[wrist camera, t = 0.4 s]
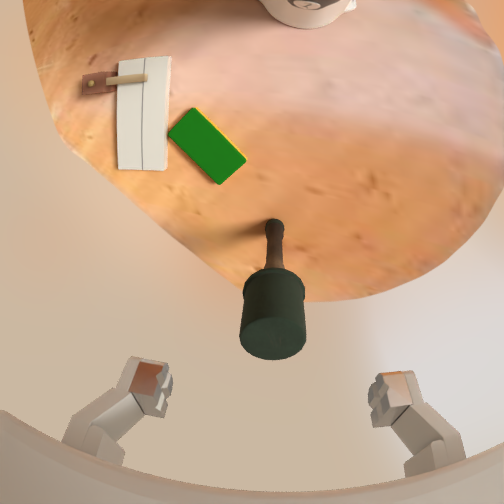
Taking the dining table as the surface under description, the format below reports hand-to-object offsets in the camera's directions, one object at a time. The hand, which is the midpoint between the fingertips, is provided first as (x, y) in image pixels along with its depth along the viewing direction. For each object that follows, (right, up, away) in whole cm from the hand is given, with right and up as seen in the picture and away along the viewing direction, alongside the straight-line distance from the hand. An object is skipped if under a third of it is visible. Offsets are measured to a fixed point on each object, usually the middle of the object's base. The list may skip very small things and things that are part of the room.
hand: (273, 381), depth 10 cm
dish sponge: (-9, +25, +41) cm, 48 cm away
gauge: (-25, +38, +33) cm, 56 cm away
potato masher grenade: (+4, +10, +48) cm, 49 cm away
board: (-21, +31, +37) cm, 53 cm away
